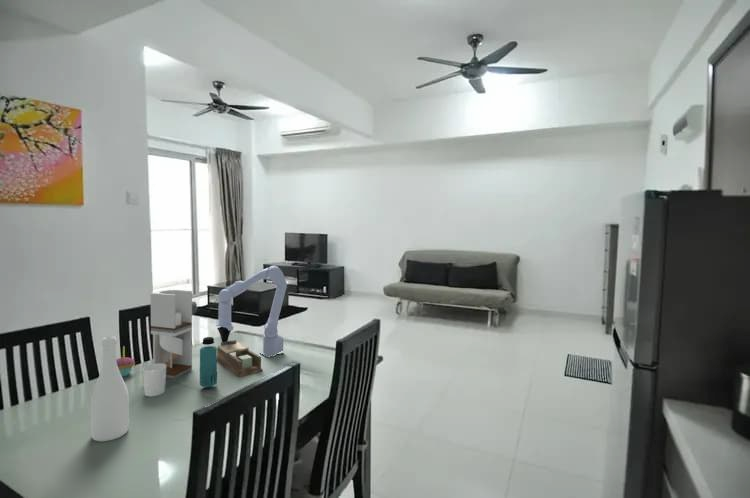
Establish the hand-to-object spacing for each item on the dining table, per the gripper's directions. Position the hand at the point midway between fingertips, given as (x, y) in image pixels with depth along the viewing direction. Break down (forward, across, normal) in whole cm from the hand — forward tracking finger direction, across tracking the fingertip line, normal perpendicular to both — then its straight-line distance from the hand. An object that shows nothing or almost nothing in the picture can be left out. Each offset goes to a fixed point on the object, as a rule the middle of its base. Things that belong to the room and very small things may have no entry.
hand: (224, 342), depth 188 cm
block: (+6, +22, 0) cm, 22 cm away
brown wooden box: (+7, +15, 0) cm, 17 cm away
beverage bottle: (+8, +30, -19) cm, 36 cm away
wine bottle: (+8, +45, -54) cm, 71 cm away
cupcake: (+8, -5, -41) cm, 42 cm away
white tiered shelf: (+8, +5, -25) cm, 27 cm away
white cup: (+8, +22, -36) cm, 43 cm away
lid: (+1, +9, 0) cm, 10 cm away
